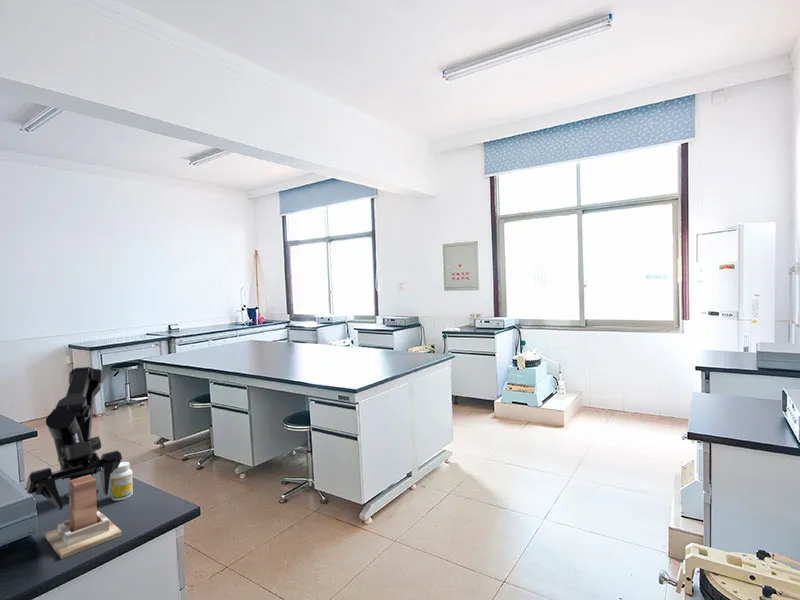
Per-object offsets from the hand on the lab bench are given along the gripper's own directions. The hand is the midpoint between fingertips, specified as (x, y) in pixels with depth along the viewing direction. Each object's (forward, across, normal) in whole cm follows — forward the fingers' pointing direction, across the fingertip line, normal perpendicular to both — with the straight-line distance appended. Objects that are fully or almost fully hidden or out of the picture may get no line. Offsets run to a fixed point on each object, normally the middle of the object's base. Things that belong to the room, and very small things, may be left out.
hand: (84, 501), depth 104 cm
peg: (+5, 0, +7) cm, 8 cm away
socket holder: (+5, 0, +7) cm, 9 cm away
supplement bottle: (-5, +14, +19) cm, 24 cm away
